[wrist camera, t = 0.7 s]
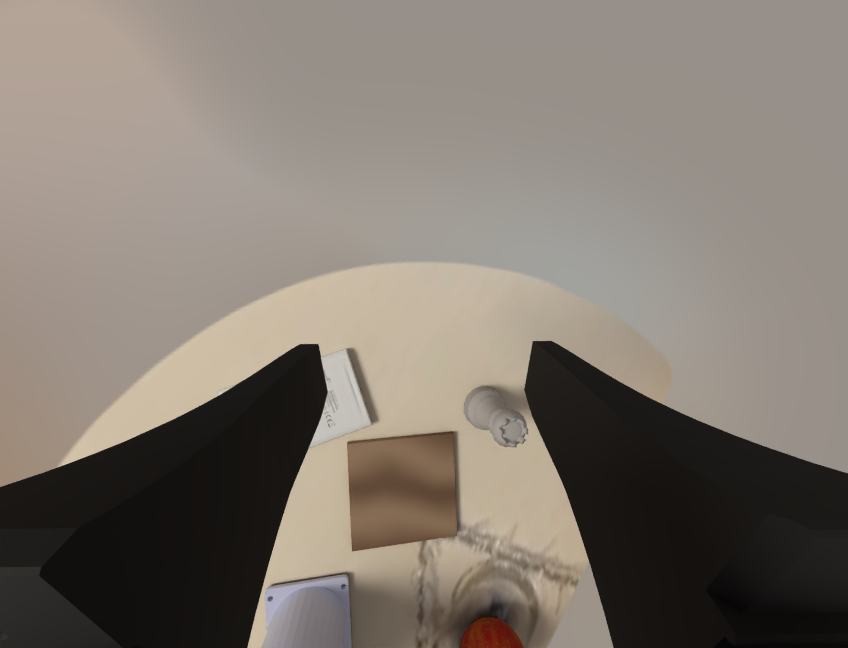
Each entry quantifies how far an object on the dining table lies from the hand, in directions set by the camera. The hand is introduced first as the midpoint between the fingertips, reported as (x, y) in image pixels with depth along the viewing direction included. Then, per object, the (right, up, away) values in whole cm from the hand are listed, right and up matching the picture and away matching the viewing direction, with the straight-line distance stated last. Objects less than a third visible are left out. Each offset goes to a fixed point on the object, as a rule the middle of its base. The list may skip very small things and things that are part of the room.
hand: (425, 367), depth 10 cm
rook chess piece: (+6, -8, +23) cm, 25 cm away
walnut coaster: (-2, -16, +22) cm, 27 cm away
